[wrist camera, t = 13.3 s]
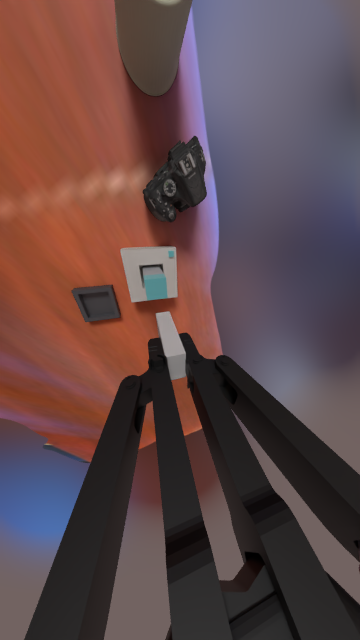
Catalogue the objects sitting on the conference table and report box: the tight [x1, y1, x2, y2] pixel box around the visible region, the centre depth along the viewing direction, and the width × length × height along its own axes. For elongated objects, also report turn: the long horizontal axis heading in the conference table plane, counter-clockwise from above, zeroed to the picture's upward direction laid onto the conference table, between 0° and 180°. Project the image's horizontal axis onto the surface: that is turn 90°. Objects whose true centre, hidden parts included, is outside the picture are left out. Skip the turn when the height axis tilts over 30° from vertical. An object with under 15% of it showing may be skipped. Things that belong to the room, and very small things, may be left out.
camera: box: [143, 136, 207, 222], centre depth 26 cm, size 13×10×10 cm
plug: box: [142, 265, 168, 300], centre depth 32 cm, size 4×4×13 cm
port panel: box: [120, 246, 178, 302], centre depth 36 cm, size 12×12×5 cm
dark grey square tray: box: [72, 285, 121, 322], centre depth 38 cm, size 9×9×2 cm
